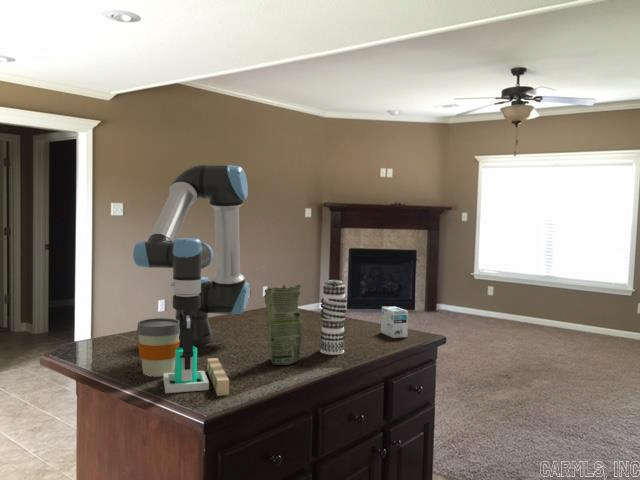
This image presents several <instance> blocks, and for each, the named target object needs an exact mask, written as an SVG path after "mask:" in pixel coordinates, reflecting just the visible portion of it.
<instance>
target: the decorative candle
mask: <svg viewBox="0 0 640 480" xmlns="http://www.w3.org/2000/svg"><path fill="white" fill-rule="evenodd" d="M322 286H323V291H322V292H323V293H322V298H321V299H320V307H321V308H322V309H321V310H320V313H321V314H320V318H321V320H322V326H321V331H320V341H319V343H320V344H319V345H320V346H319V348H320V353H322V354H324V355H330V356H331V355H332V356H334V355H335V356H336V355H342V354H343V355H344V353H345V350H344V349H345V348H346V347H345V344H346V342H345V339H346V337H345V334H346V332H345V326H344V325H345V322H344V321H345V320H346V316H345V313H347V310H346V308H347V305H345V304H346V303H347V302H348V300H347V296H346V292H345V291H346V289H345V287H346V284H344V282H343V280H338V279H328V280H325V282H324V283H323V284H322Z"/></svg>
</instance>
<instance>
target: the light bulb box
mask: <svg viewBox="0 0 640 480" xmlns="http://www.w3.org/2000/svg"><path fill="white" fill-rule="evenodd" d="M380 321H381V322H380V323H381V326H380V327H381V328H380V333H382V334H384V335H386V336H387V337H390V338H393V339H398V338H408V334H409V333H408V327H409V324H408V323H409V310H407V309H403V308H400V307H398V306H395V305H394V306H381V320H380Z"/></svg>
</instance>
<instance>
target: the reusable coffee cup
mask: <svg viewBox="0 0 640 480" xmlns="http://www.w3.org/2000/svg"><path fill="white" fill-rule="evenodd" d="M179 333H180V327H179V320H176V318H175V319H174V318H165V317H164V318H163V317H159V318H157V317H156V318H149V319H148V318H147V319H143V320H140V321H138V324H137V328H136V334H137V335H138V341H137V347H138V354H139V356H138V357H139V358H140V360H141V368H142V373H143V374H142V375H144V374H145V375H144V376H146V375H147V377H152V376H153V377H156V378H159V377H164V373H175V349H177V348H178V347H180V345H179V343H180V340H179Z"/></svg>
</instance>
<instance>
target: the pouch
mask: <svg viewBox="0 0 640 480" xmlns="http://www.w3.org/2000/svg"><path fill="white" fill-rule="evenodd" d="M301 288H302V285H300V284H297V285H295V286H289V287H286V285H285V284H283V286H282V287H276V286H275V287H269V288H267V289H265V290H264V292H265V293H264V304H265V307H266V315H267V323H266V325H267V328H268V334H269V336H268V349H269V357H270V359H271V364H272V365H277V366H278V365H281V366H282V365H284V366H287V365H291V364H294V363H297V361H298V360H300V351H301V343H302V332H303V324H302V323H303V322H302V319H301V314H300V310H299V297H300V296H301Z"/></svg>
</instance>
